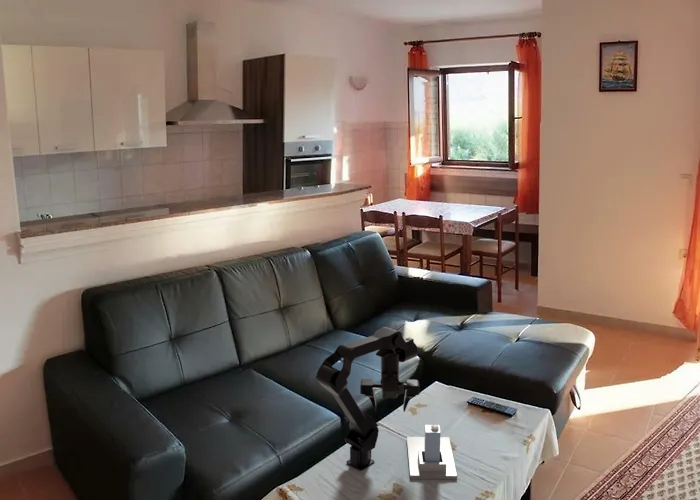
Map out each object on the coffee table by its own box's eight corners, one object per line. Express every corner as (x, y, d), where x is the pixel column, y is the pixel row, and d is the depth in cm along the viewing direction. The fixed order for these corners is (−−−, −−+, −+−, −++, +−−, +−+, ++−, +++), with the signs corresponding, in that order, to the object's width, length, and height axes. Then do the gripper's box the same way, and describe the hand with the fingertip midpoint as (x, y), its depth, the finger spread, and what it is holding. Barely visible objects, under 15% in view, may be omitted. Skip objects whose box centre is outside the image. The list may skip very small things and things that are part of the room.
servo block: (425, 467, 199) (425, 429, 196) (424, 459, 203) (425, 422, 200) (439, 467, 199) (440, 430, 196) (438, 459, 203) (439, 422, 200)
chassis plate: (457, 479, 195) (457, 468, 194) (410, 478, 196) (410, 468, 195) (448, 440, 216) (449, 430, 215) (406, 440, 217) (406, 430, 216)
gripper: (359, 377, 198) (359, 423, 202) (420, 378, 197) (419, 424, 201) (360, 361, 209) (361, 405, 213) (419, 362, 208) (418, 406, 212)
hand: (389, 411), depth 210 cm, fingers open, 9 cm apart
